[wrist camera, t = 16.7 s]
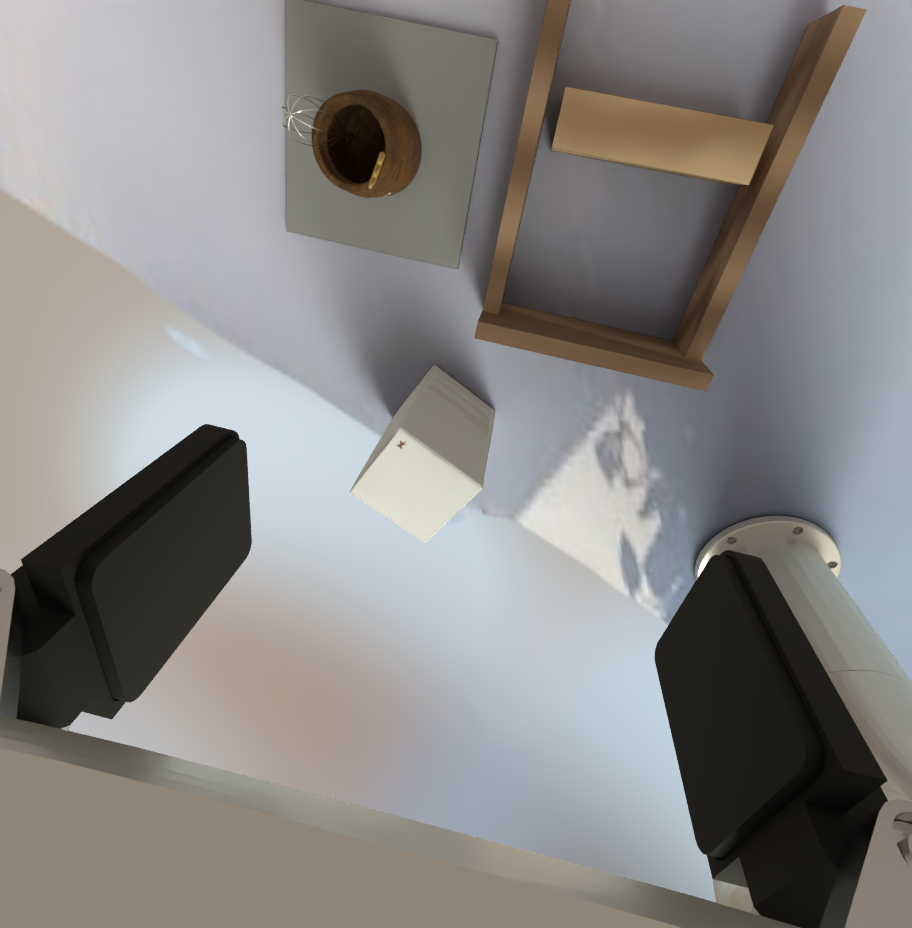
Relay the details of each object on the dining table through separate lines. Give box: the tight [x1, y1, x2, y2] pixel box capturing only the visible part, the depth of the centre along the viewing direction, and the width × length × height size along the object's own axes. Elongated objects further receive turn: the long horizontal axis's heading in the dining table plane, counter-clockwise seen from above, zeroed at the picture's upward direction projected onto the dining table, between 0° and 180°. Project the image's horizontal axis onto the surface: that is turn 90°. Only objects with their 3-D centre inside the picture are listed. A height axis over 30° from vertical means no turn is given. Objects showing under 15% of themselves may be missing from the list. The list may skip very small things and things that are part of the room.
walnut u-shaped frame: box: [475, 0, 866, 391], centre depth 32 cm, size 21×16×7 cm
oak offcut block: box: [551, 87, 774, 185], centre depth 31 cm, size 3×12×5 cm, turn 81°
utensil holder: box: [281, 90, 422, 198], centre depth 30 cm, size 6×6×12 cm
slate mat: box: [286, 0, 498, 269], centre depth 35 cm, size 14×14×1 cm
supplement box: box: [350, 365, 495, 543], centre depth 40 cm, size 7×7×13 cm
